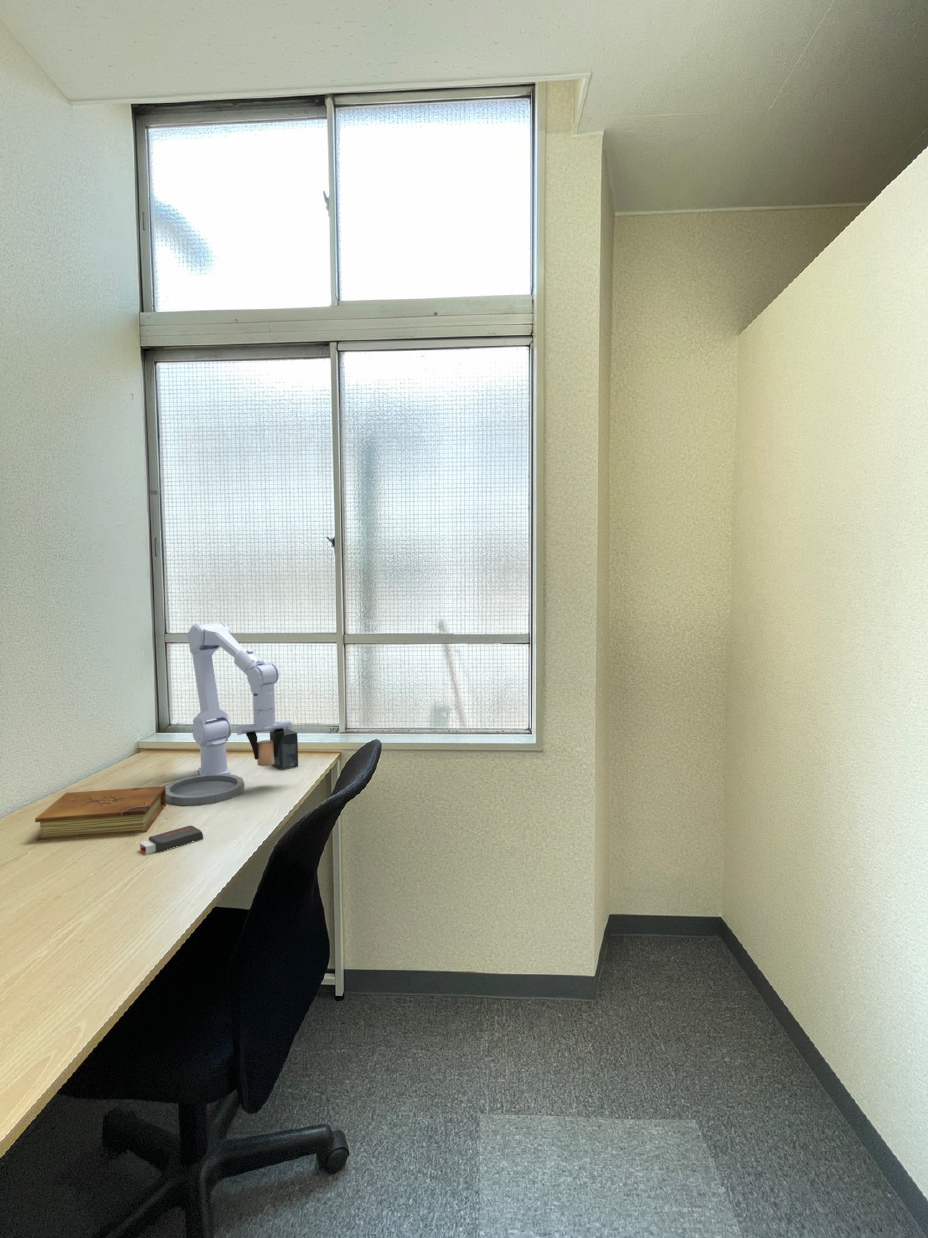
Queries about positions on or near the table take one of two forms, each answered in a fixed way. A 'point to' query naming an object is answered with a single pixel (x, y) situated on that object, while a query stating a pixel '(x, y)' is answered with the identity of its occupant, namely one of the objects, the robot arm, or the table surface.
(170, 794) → the round tray
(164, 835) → the usb drive
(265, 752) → the terracotta rounded cylinder
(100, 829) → the diary
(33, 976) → the table surface
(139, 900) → the table surface
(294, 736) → the box
